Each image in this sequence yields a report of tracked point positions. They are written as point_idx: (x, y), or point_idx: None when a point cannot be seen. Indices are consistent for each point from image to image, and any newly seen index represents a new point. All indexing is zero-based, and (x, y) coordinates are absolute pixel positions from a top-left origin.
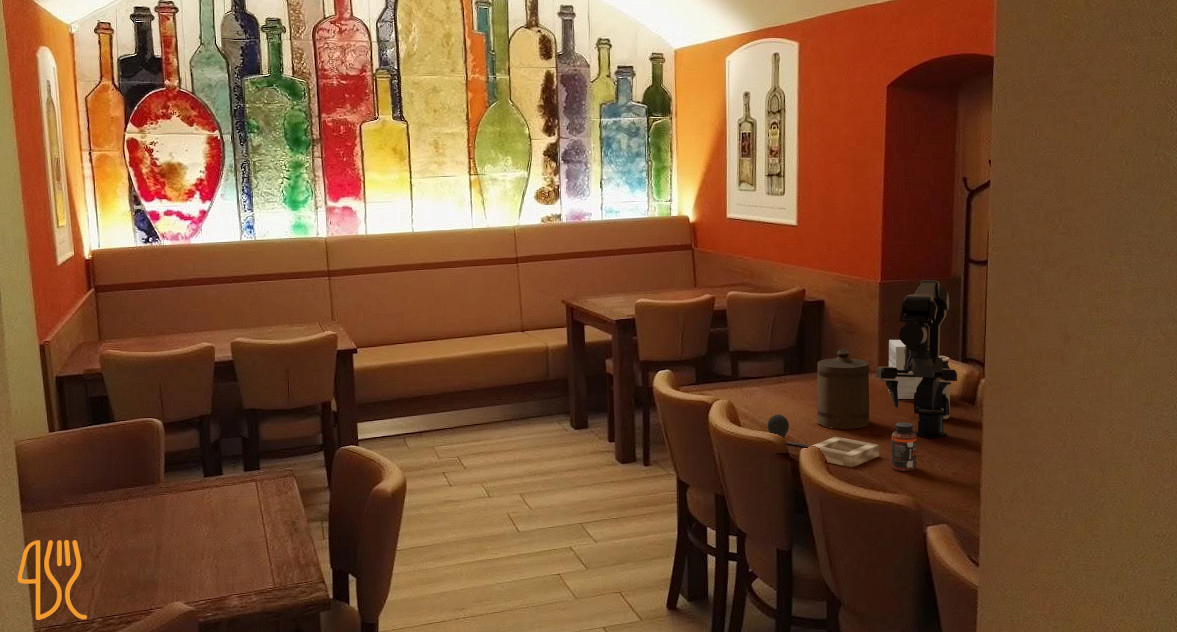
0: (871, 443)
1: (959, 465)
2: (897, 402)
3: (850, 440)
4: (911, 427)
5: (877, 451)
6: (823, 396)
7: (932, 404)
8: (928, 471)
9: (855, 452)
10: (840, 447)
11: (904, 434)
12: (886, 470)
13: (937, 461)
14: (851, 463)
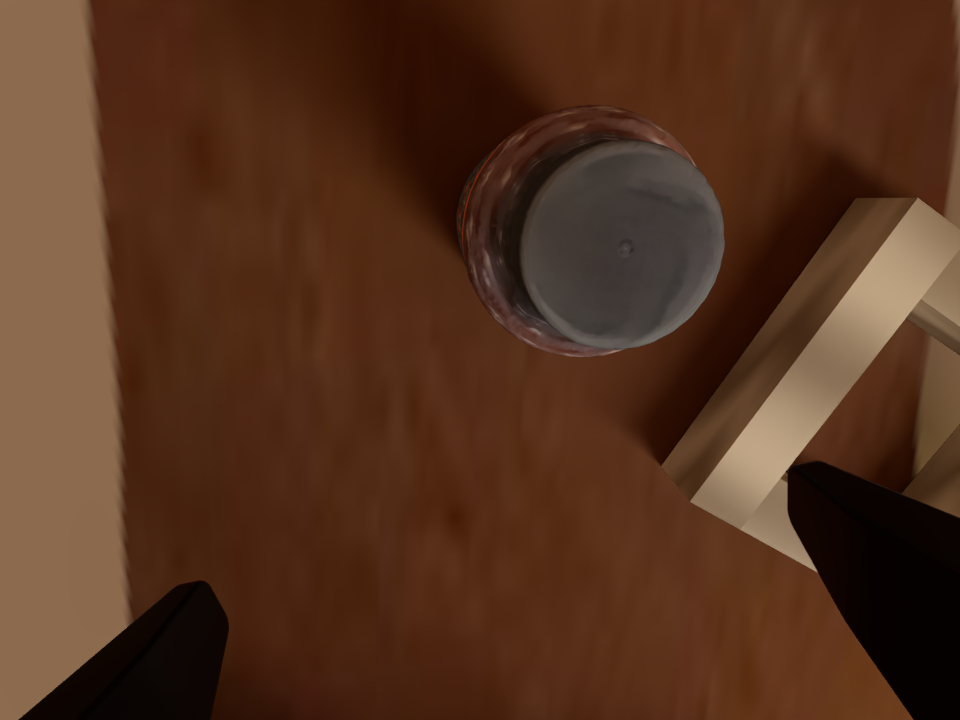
0: (734, 524)
1: (183, 348)
2: (862, 507)
3: None
4: (534, 190)
5: (684, 466)
6: None
7: (203, 682)
8: (378, 180)
9: (876, 292)
10: None
11: (603, 137)
12: None
13: (321, 413)
14: (876, 200)
